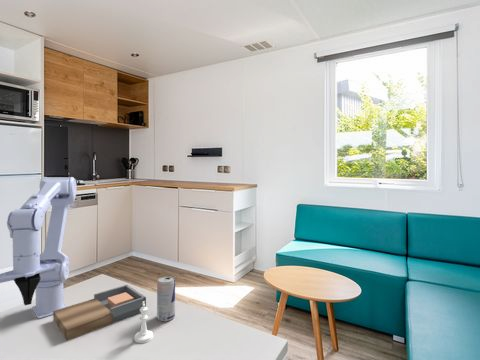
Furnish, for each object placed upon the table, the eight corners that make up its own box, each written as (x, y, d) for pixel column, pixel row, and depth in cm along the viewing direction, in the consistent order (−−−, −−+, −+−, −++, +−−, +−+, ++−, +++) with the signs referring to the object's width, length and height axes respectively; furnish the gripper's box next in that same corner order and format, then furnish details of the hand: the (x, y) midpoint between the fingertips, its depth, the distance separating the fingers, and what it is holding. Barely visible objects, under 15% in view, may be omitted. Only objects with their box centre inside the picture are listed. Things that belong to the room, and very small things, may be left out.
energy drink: (177, 313, 90) (177, 276, 90) (171, 322, 85) (171, 283, 85) (161, 312, 91) (161, 275, 90) (154, 321, 86) (154, 282, 85)
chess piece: (135, 345, 74) (135, 307, 74) (133, 335, 78) (132, 299, 78) (154, 340, 76) (154, 303, 76) (151, 330, 81) (151, 296, 80)
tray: (94, 307, 93) (94, 294, 93) (126, 296, 101) (126, 284, 101) (111, 324, 84) (111, 309, 84) (146, 310, 92) (146, 297, 92)
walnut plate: (53, 320, 85) (53, 311, 85) (95, 307, 94) (95, 298, 94) (67, 340, 75) (67, 329, 75) (113, 323, 84) (113, 313, 84)
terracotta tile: (107, 303, 92) (107, 297, 92) (125, 297, 97) (125, 292, 97) (115, 310, 88) (115, 304, 88) (133, 303, 93) (133, 297, 92)
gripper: (-8, 263, 68) (-7, 319, 68) (61, 251, 78) (62, 299, 79) (-11, 256, 73) (-10, 308, 73) (55, 246, 83) (55, 291, 84)
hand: (27, 303), depth 76 cm, fingers closed
